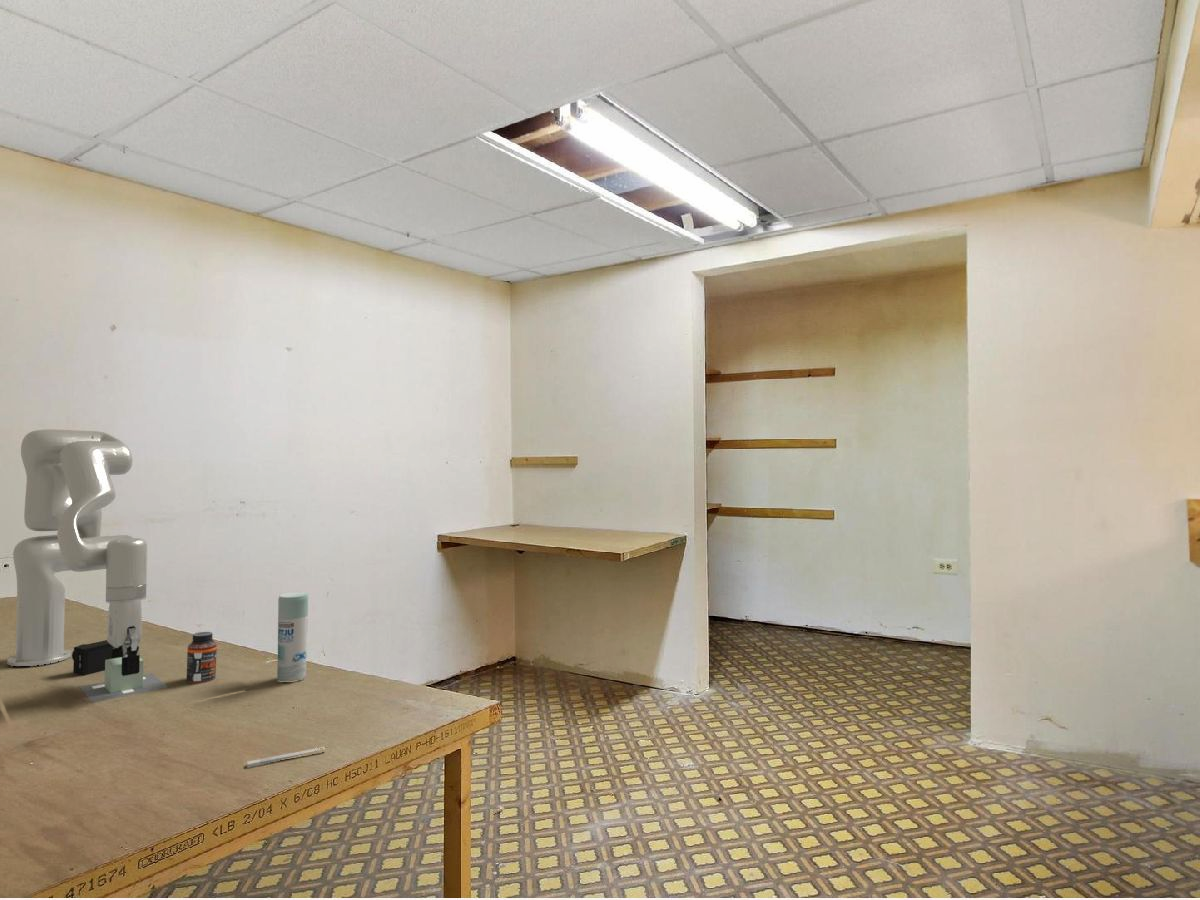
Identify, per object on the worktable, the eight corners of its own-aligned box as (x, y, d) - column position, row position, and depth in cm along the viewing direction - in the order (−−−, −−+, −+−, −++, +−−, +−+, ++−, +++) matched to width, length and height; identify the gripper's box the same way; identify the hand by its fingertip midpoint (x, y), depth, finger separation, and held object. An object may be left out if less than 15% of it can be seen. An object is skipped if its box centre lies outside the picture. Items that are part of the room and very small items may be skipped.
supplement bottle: (202, 687, 156) (203, 637, 156) (180, 685, 157) (181, 635, 157) (221, 679, 161) (222, 631, 162) (200, 677, 163) (201, 629, 163)
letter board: (79, 689, 153) (79, 686, 153) (151, 675, 163) (151, 673, 163) (91, 705, 143) (91, 702, 143) (168, 689, 153) (168, 687, 153)
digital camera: (116, 663, 172) (116, 636, 172) (129, 666, 170) (130, 638, 170) (69, 675, 163) (70, 646, 163) (83, 678, 160) (84, 649, 160)
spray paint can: (312, 676, 164) (314, 593, 164) (290, 684, 158) (291, 598, 158) (293, 672, 167) (295, 591, 167) (270, 680, 161) (272, 595, 161)
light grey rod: (324, 752, 123) (324, 746, 123) (325, 754, 122) (325, 749, 122) (246, 767, 117) (246, 761, 117) (247, 770, 116) (247, 764, 116)
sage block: (104, 686, 153) (105, 659, 153) (136, 680, 157) (136, 654, 157) (110, 693, 149) (111, 665, 149) (142, 686, 153) (143, 660, 153)
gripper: (97, 590, 157) (96, 665, 156) (115, 601, 145) (113, 682, 144) (136, 586, 162) (135, 658, 162) (156, 596, 150) (154, 674, 150)
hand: (125, 669), depth 153 cm, fingers open, 9 cm apart
